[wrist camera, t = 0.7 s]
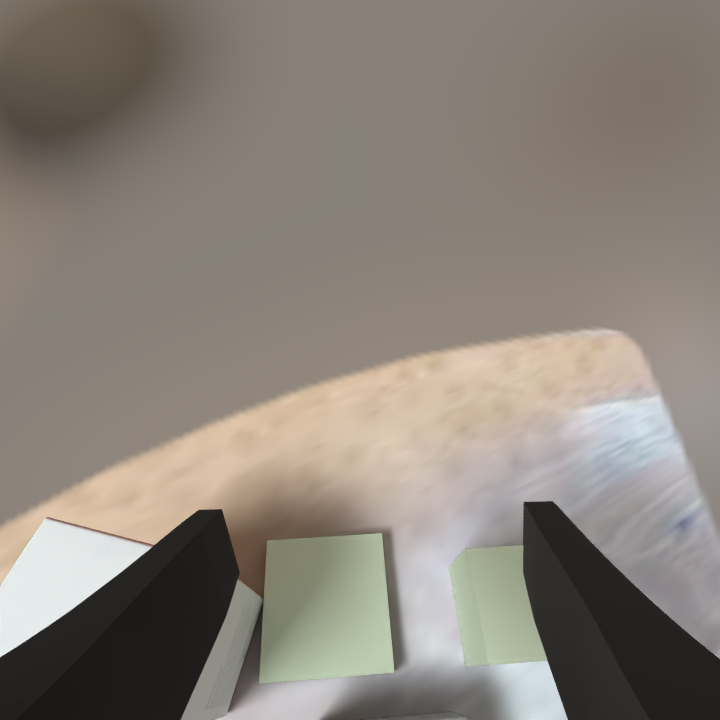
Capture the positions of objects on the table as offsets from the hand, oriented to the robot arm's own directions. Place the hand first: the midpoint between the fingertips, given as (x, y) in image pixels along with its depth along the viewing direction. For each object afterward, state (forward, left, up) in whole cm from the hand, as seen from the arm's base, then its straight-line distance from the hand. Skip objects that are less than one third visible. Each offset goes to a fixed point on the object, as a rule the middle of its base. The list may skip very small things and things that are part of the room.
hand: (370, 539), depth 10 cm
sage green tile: (+1, +2, -18) cm, 18 cm away
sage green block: (0, -8, -18) cm, 20 cm away
